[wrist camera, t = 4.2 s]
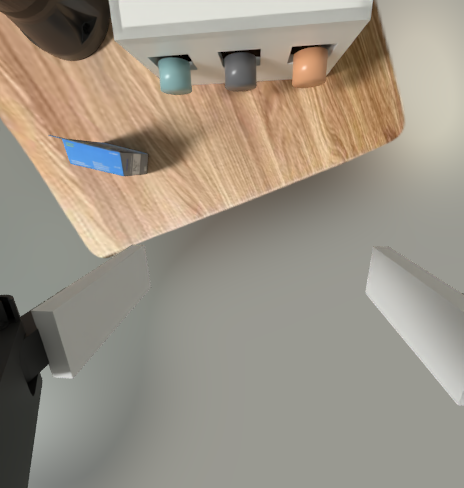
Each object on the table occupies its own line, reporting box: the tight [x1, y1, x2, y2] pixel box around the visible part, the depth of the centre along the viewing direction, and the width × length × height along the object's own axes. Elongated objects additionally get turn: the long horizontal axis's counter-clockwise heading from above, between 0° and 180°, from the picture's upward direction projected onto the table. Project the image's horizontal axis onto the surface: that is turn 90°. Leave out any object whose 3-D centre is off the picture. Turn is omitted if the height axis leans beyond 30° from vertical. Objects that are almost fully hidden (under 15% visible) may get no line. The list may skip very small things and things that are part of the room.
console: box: [109, 0, 373, 85], centre depth 30 cm, size 25×8×16 cm, turn 91°
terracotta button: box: [292, 47, 328, 88], centre depth 30 cm, size 4×3×4 cm
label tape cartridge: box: [48, 135, 148, 176], centre depth 39 cm, size 9×4×12 cm, turn 77°
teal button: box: [158, 57, 192, 95], centre depth 32 cm, size 4×3×4 cm
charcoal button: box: [224, 52, 256, 91], centre depth 31 cm, size 4×3×4 cm
